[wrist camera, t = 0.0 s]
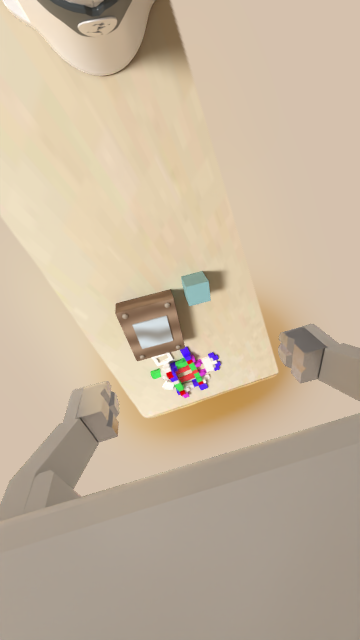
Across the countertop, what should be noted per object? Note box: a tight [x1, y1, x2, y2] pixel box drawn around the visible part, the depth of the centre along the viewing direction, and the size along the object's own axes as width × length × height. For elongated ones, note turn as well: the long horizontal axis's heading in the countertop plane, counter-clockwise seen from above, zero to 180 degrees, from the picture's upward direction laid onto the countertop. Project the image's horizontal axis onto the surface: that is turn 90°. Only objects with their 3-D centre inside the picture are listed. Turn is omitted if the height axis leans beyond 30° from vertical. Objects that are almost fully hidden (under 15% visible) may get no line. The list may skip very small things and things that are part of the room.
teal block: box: [181, 271, 211, 306], centre depth 51 cm, size 5×5×5 cm
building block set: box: [151, 347, 221, 398], centre depth 70 cm, size 25×20×4 cm
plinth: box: [116, 289, 185, 361], centre depth 56 cm, size 16×13×4 cm
